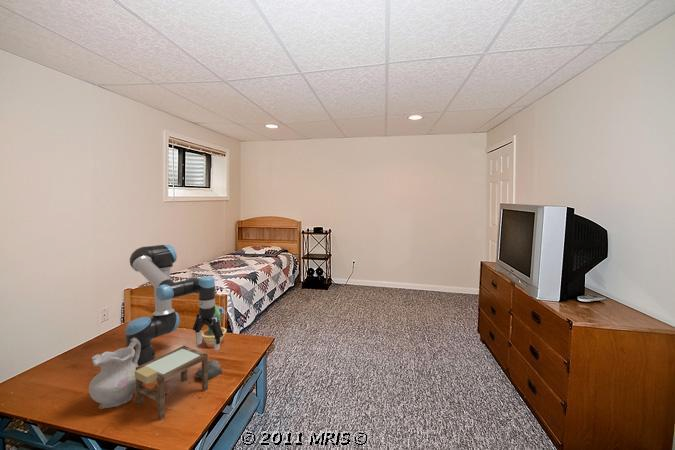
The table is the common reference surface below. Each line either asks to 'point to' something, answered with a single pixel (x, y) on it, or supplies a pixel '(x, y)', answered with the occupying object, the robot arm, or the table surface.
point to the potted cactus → (208, 333)
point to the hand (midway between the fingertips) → (207, 346)
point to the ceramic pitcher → (115, 376)
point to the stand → (160, 380)
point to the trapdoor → (164, 365)
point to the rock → (210, 369)
